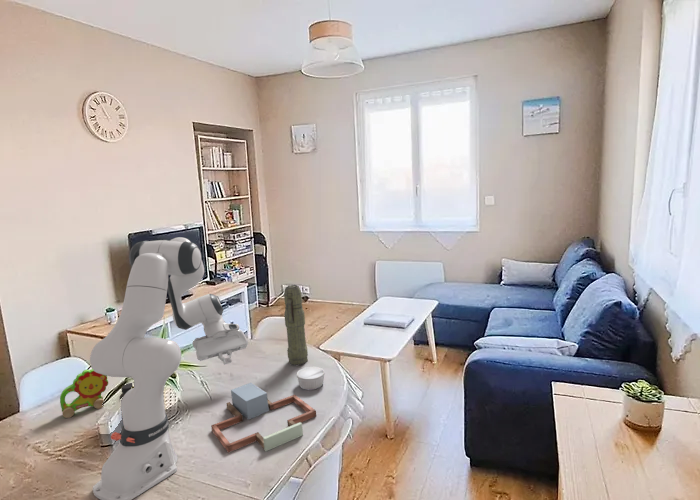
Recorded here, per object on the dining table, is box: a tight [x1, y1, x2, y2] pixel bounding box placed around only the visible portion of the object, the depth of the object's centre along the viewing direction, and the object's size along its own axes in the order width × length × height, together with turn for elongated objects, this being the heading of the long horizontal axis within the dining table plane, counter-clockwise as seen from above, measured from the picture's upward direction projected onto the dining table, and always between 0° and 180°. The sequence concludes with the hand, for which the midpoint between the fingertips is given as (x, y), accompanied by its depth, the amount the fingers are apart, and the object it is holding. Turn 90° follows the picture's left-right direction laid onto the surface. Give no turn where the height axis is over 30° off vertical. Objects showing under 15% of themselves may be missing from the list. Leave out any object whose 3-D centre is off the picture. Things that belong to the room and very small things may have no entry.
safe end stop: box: [262, 422, 304, 452], centre depth 135 cm, size 1×13×4 cm, turn 125°
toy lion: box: [59, 368, 109, 419], centre depth 162 cm, size 16×6×15 cm, turn 126°
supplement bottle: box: [119, 382, 133, 400], centre depth 155 cm, size 7×7×12 cm
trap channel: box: [211, 394, 317, 454], centre depth 148 cm, size 32×31×2 cm
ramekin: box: [296, 366, 326, 391], centre depth 172 cm, size 11×11×5 cm
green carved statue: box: [283, 284, 309, 366], centre depth 193 cm, size 9×12×35 cm
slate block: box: [230, 382, 270, 421], centre depth 156 cm, size 12×8×7 cm, turn 41°
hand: (228, 363), depth 170 cm, fingers closed
